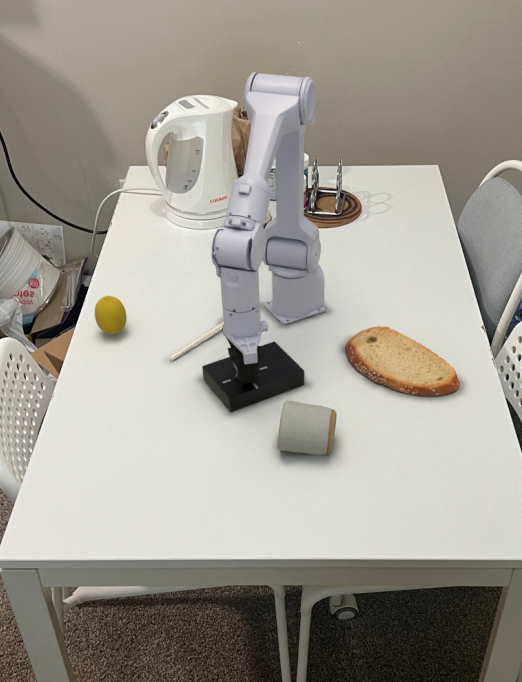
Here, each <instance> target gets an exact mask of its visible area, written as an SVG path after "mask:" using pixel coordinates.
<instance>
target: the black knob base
mask: <svg viewBox="0 0 522 682" xmlns="http://www.w3.org/2000/svg"><path fill="white" fill-rule="evenodd" d="M261 346H264V349H265V355H264V357H263V358H262V359H261V361H260V363H259V365H258V368H257V377H256V378H255V380H254V383H248V384H242V383H241V382H239V381H237V380H235V379H234V377H233V367H232V360H231V358H230V356H228V357H224V358H221V359H219V360H216V361H213V362H209V363H207V364H205V365H202V366H201V367H202V368H201V370H202V378H203V381H204V383H205V384H206V385H207V386H208V387H209V388H210V390H211V391H212V392H213V394H215V396H216V397H217V399H219V401H220V402H221V403H222V405H224V407H225V408H226V409H227V411H229V413H231V414H232V413H233V412H236V411H239V410H241V409H244V408H247V407H249V406H252V405H254V404H257V403H260V402H263V401H266V400H269V399H270V398H273V397H276V396H278V395H281V394H285V393H287V392H289V391H292V390H294V389H297V388H300V387H303V386H304V385H305V370H304V369H303V368H302V367H301V366H300V364H299V363H297V361H295V359H293V358H292V357H291V356H290V355H289V354H288V353H287V352H286V351H285V349H283V348H282V346H280V345H279V344H278V343H277V342H276V341H271V342H268V343H264V344H262V345H261Z"/></svg>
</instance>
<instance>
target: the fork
mask: <svg viewBox="0 0 522 682" xmlns="http://www.w3.org/2000/svg"><path fill="white" fill-rule="evenodd" d="M223 325H224V319H223V320H222V322H220V323H218V324H217V325H216V326H214V327H213V328H211V329H209V330H208V331H206V332H205V333H203V334H202V335H200V336H199V337H197V338H196V339H194V340H193V341H191V342H190V343H188V344H187V345H185V346H184V347H182V348H181V349H179V350H177V351H176V352H175V353H173V354H172V355H170V356H169V360H171V361H174V360H175V359H177V358H179V357H180V356H182V355H184V354H185V353H187V352H188V351H190V350H192V349H193V348H194V347H197V346H198V345H199V344H201V343H202V342H204V341H206V340H207V339H209V338H211V337H212V336H215V334H217V333H219V332H220V331H222V327H223Z"/></svg>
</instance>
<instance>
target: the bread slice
mask: <svg viewBox="0 0 522 682" xmlns="http://www.w3.org/2000/svg"><path fill="white" fill-rule="evenodd" d="M344 351H345V352H346V355H347V359H348V361H349V362H350V363H351V365H352V366H353V367H354V368H355V370H357V371H358V372H360V373H361V374H362V375H363V376H365V377H366V378H368V379H369V380H371V381H373V382H374V383H376V384H379V385H383V386H386V387H388V388H389V389H391V390H393V391H396V392H399V393H403V394H409V395H412V396H413V395H414V396H420V397H438V396H445V395H449V394H451V393H453V392H457V390H458V389H459V387H460V380H459V378H458V374H457V371H456V370H455V368H454V367H453V366H452V365H451V364H450V363H448V361H446V359H444V358H442V356H441V357H440V356H439V355H438V353H436V352H434V351H432V350H431V349H430V348H428V347H427V346H425V345H423V344H421V343H420V342H417V341H416V340H415V339H412V338H411V337H409V336H407V335H405V334H404V333H401V332H399V331H397V330H396V329H393V328H390V327H389V326H380V325H379V326H373V327H369V328H366V329H363V330H360V331H359V332H357V333H356V334H354V335H353V336H352V337H351V338H350V339H349V340H348V341H347V343H346V344H345V346H344Z"/></svg>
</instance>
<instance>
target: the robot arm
mask: <svg viewBox="0 0 522 682" xmlns="http://www.w3.org/2000/svg"><path fill="white" fill-rule="evenodd" d="M317 90H318V89H317V85H316V83H315V81H314V80H313V78H312V77H311V76H306V77H305V76H293V75H281V74H270V73H260V72H258V71H252V73H251V74H249V76H248V77H247V80H246V83H245V85H244V93H243V94H244V95H243V98H244V99H243V101H244V107H245V111H246V116H247V120H248V122H249V124H250V131H249V139H248V144H247V151H246V157H245V163H244V169H243V175H241V176H240V177H238V178H236V179H235V180H234V181H233V184H232V187H231V191H230V196H229V199H228V204H227V208H226V212H225V215H224V216H225V217H224V220H223V224H222V227H221V228H217V229H216V231H215V232H214V235H213V237H212V241H211V253H210V257H211V262H212V264H213V265H214V267H215V274H216V276H217V277H218V278H219V279H220V280H219V281H220V291H221V304H222V305H221V306H222V319H223V320H224V325H223V327H222V330H221V331H222V334H223V336H224V338H225V339H226V340H227V342H228V344H229V346H230V347H227V352H228V357H230V358H231V360H232V361H233V362H234V364H235V365H236V367H237V371H238V375H239V378H240V381H241V383H242V384H248V383H254V380H255V377H256V372H257V368H258V365H259V363H260V361H261V359H262V358H263V357H264V355H265V349H264V346H262V345H259V343H260V341H261V340H260V339H261V336H262V334H263V333H264V332H267V331H269V324H268V322H267V320H261V303H260V302H261V301H260V300H261V299H260V297H261V295H260V274H259V273H260V269H259V268H260V266H261V265H262V262H263V264H264V265H265V266H267V267H268V272H271V292H272V294H271V295H272V297H271V298H272V299H271V300H269V301H267V302H264V303H263V306H264V308H265V309H267V311H269V313H271V314H272V315H273V316H274V317H275V318H276V319H277V320H278V321H279V322H280V323H281V324H282V325H289V324H291V323H294V322H297V321H300V320H303V319H305V318H309V317H312V316H315V315H318V314H321V313H324V312H326V311H327V308H326V307H325V275H324V272H323V269H322V266H321V265H320V258H321V251H322V243H321V240H320V231H319V227H318V226H317V225H316V224H315V223H314V222H312V221H311V220H309V218H307V217H306V216H305V213H304V212H305V208H304V207H305V206H304V205H305V136H306V135H305V134H306V128H307V127H308V126H313V125H315V124H316V119H317V96H318V95H317V93H318V92H317ZM274 162H275V217H274V218H272V220H271V221H269V222H268V224H267V225H266V227H265V229H264V228H263V227H264V223H265V219H266V215H267V211H268V210H269V206H270V202H271V197H272V194H273V193H272V189H271V187H270V185H269V183H268V180H269V177H270V174H271V171H272V168H273V165H274Z"/></svg>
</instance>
